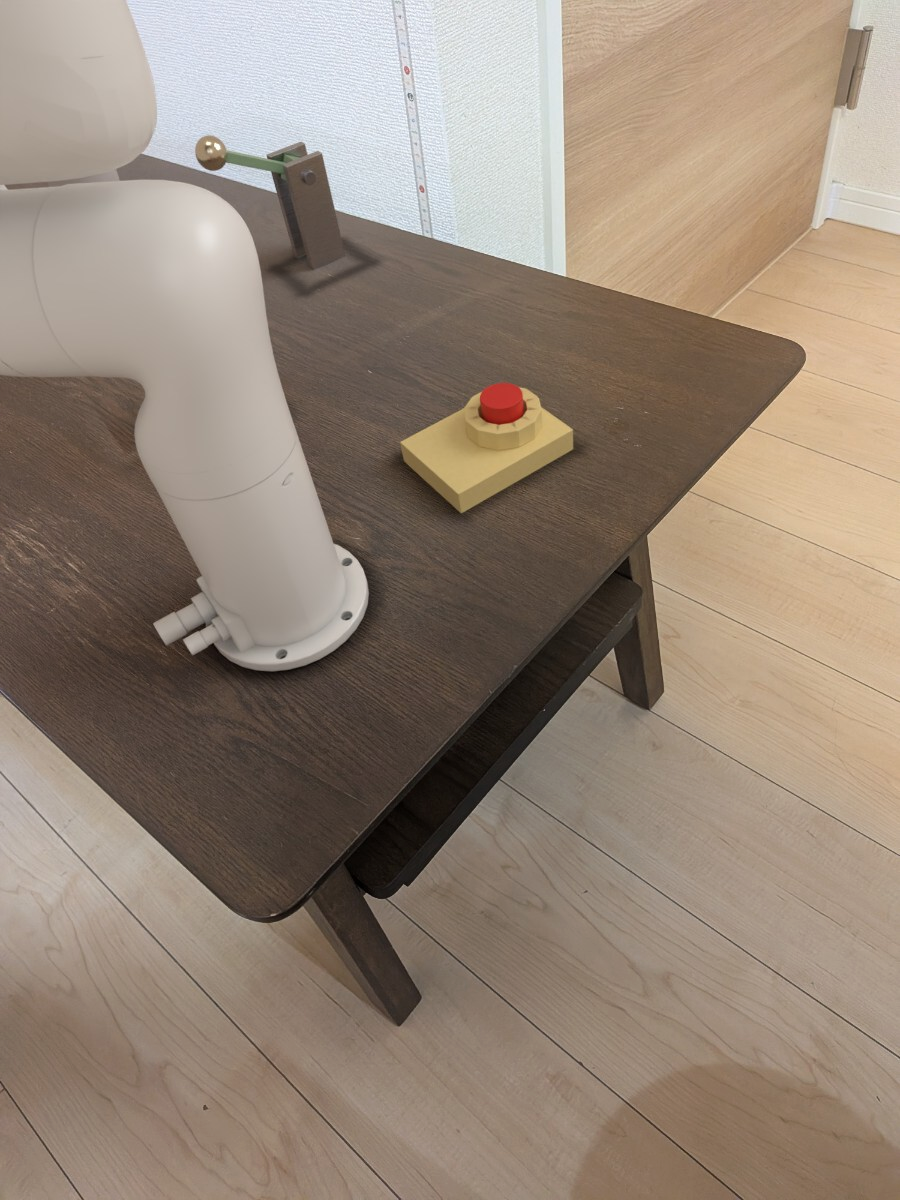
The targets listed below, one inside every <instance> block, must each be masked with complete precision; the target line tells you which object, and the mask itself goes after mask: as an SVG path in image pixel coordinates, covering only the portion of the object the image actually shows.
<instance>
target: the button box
mask: <svg viewBox="0 0 900 1200" xmlns="http://www.w3.org/2000/svg"><path fill="white" fill-rule="evenodd" d="M518 387H519V388H520V389H521V391H522V393H523V407H524V412H523V415H522V416H521V418H520V419H518V420H516V421H515V422H513V423H507V424H501V425H497V424H492V423H488V422H486V421H485V420H484V419H483V417H482V413H481V404H480V395H481V393H482V391H480V392H478V393H476V394H475V395H473V396H471V398H470V399H469V400H468V402H467V403H466V405H465V406H464V407H463V408H462V409H460V410H458V411H456V412H454V413H452V414H449V416H447V417H445V418H443V419H441V420H439V421H437V422H436V423H433V424H431V425H429V426H427V427H426V428H424V429H422V430H420V431H418V432H417V433H414V434H412V435H411V436H409V437H407V438H405V439H403V440H402V441H400V442H399V445H400V449H401V453H402V458H403V462H404V463H405V464H406V465H408V466H409V467H410V468H411V469H412V470H413V471H414V472H415V473H416V474H418V475H419V477H421V479H423V480H424V481H425V482H426V483H427V484H428V485H429V486H431V488H432V489H434V491H436V492H437V493H438V494H439V495H440V496H442V498H444V499H445V500H446V501H447V502H448V503H449V504H451V506H452V507H454V508H455V509H456V510H457V511H458V512H459V513H460V514H463V513H465V512H466V511H468V510H470V509H471V508H473V507H475V506H477V505H479V504H480V503H482V502H484V501H486V500H487V499H489V498H491V497H493V496H494V495H496V494H498V493H499V492H502V491H503V490H505V489H507V488H508V487H510V486H512V485H514V484H515V483H517V482H519V481H520V480H522V479H524V478H526V477H527V476H529V475H531V474H533V473H534V472H536V471H538V470H540V469H541V468H544V467H545V466H547V465H548V464H551V462H554V461H556V460H557V459H559V458H561V457H563V456H564V455H566V454H567V453H569V452H571V451H573V450H574V429H573V428H572V427H571V426H569V425H568V424H566V423H565V422H563V421H562V420H560V419H559V418H557V417H556V416H555V415H553V414H552V413H550V412H549V411H548V410H547V409H545V408H543V407H542V406H541V405H542V404H541V401H540V398H539V396H538V395H536V394H534V393H533V392H532V391H531V390H529V389H528V388H526V387H520V386H518Z"/></svg>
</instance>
